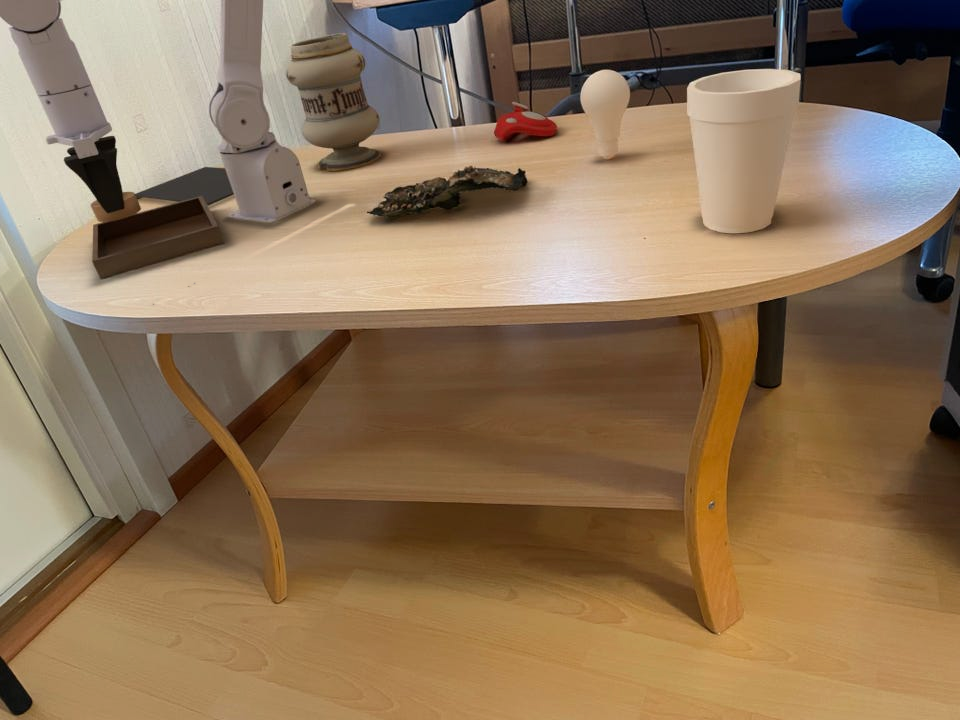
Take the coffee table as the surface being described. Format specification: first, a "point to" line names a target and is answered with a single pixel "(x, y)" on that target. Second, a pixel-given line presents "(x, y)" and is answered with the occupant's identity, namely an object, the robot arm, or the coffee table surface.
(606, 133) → the lightbulb
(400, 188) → the tree bark
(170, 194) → the mat
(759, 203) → the foam cup
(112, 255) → the tray
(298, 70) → the apothecary jar
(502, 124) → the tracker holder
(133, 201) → the wooden puck
